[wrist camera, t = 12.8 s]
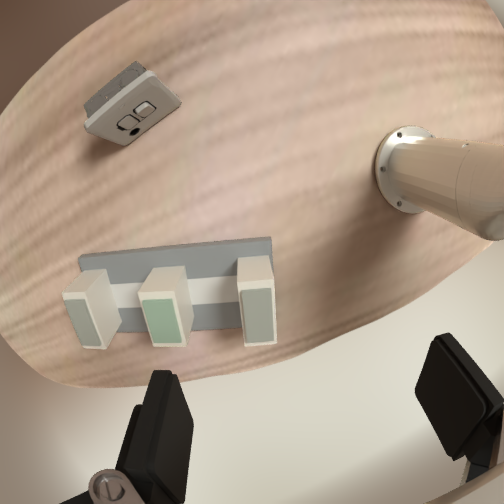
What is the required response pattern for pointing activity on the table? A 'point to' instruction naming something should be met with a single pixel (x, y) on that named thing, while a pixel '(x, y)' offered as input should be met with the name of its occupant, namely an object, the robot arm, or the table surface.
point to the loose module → (167, 306)
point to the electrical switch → (129, 105)
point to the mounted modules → (108, 320)
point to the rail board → (198, 276)
